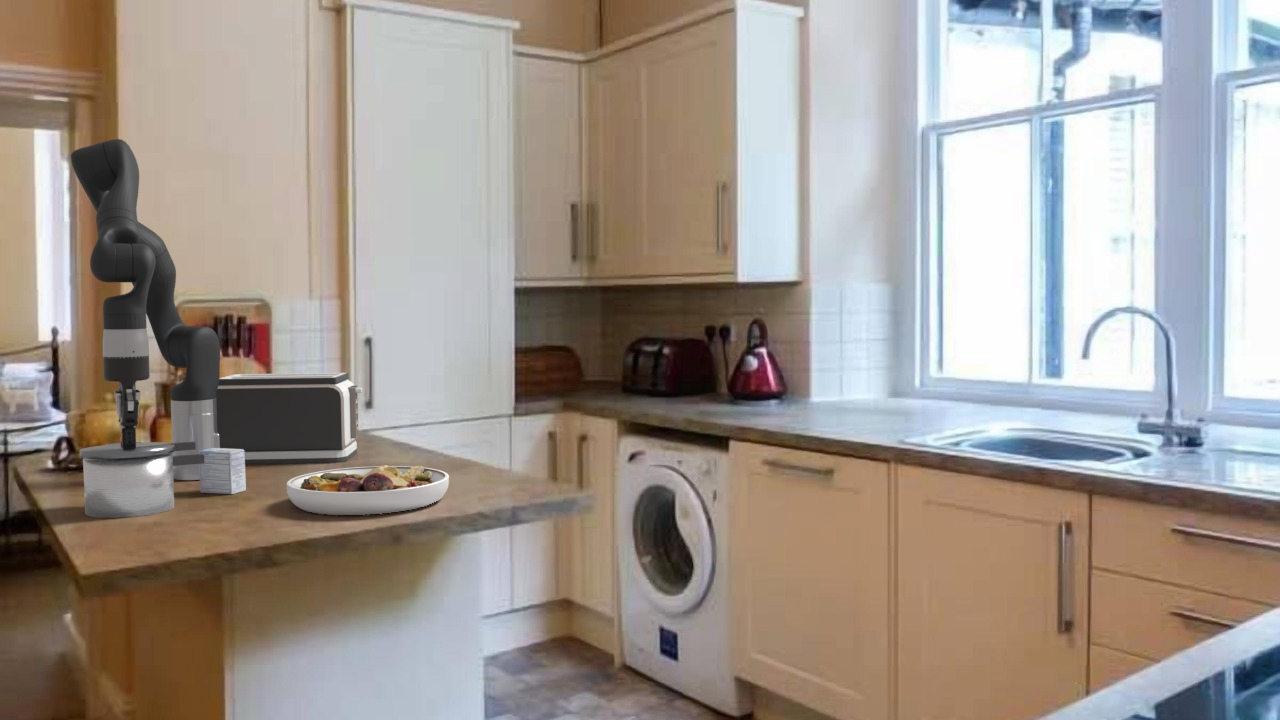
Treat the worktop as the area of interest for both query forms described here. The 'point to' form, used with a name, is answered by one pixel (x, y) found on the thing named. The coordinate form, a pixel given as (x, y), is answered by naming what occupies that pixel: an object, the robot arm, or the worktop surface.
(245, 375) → the toaster
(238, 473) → the medicine box
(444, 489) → the bowl
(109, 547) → the worktop surface
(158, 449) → the lid
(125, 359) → the robot arm
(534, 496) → the worktop surface
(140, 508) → the cooker pot
